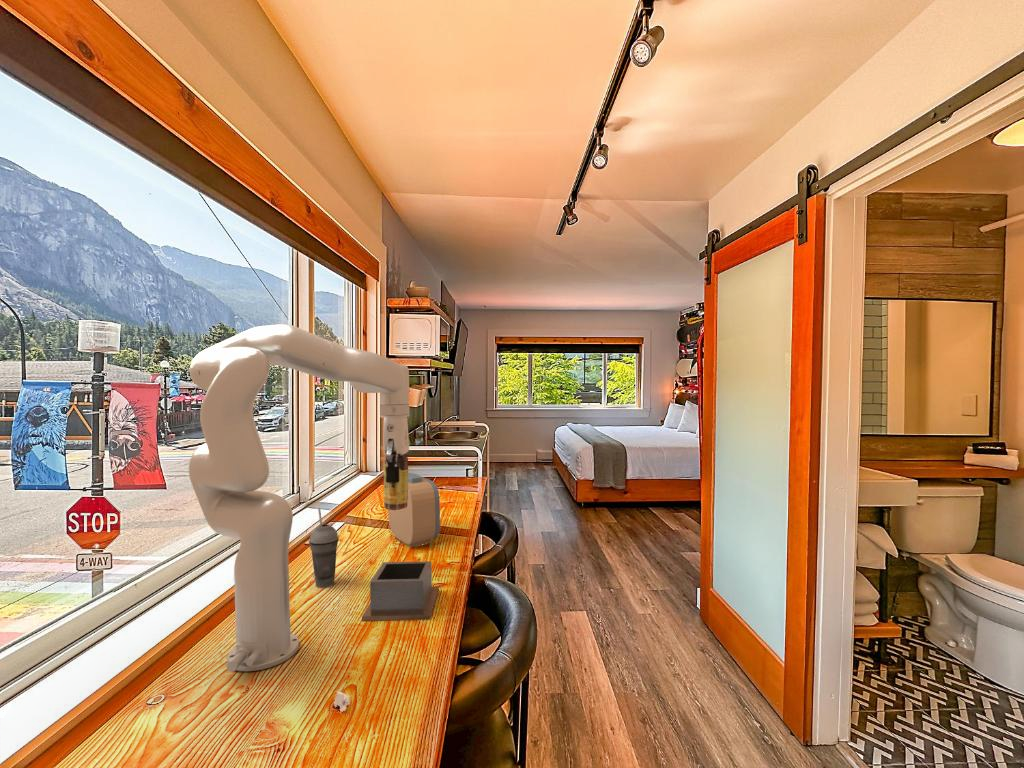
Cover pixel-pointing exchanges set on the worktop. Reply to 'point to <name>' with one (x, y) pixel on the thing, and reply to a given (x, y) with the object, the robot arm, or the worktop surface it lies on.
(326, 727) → the worktop surface
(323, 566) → the beverage cup
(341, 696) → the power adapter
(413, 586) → the grey square open box
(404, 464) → the sauce bottle
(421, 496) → the alarm clock
